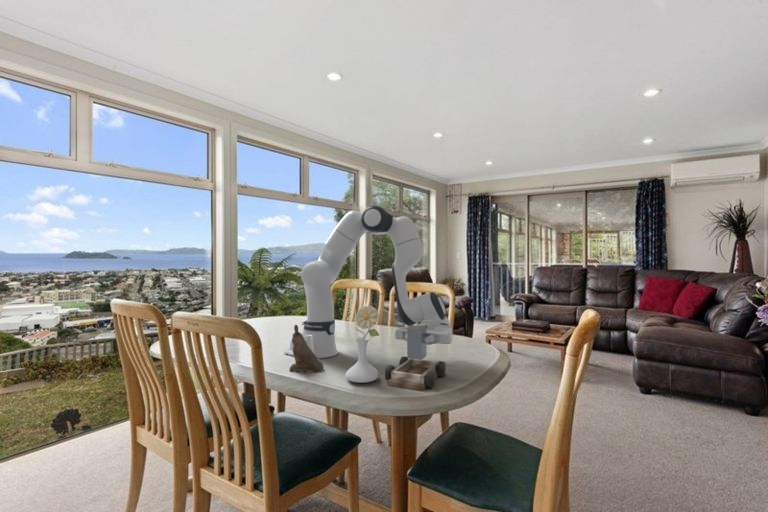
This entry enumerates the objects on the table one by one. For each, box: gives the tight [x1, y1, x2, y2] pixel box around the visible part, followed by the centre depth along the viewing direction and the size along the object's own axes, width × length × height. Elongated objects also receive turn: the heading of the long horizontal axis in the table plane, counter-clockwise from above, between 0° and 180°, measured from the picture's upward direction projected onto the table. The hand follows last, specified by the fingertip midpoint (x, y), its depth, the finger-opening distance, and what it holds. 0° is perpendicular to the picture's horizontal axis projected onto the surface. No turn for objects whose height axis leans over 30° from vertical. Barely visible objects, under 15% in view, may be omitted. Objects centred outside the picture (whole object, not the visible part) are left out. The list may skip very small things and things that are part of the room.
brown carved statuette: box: [289, 324, 324, 372], centre depth 135 cm, size 12×6×18 cm, turn 85°
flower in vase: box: [344, 305, 381, 384], centre depth 124 cm, size 13×11×25 cm
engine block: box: [406, 324, 428, 360], centre depth 126 cm, size 5×5×10 cm
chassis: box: [384, 355, 447, 392], centre depth 126 cm, size 15×20×5 cm
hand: (415, 339), depth 125 cm, fingers closed on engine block, 5 cm apart
